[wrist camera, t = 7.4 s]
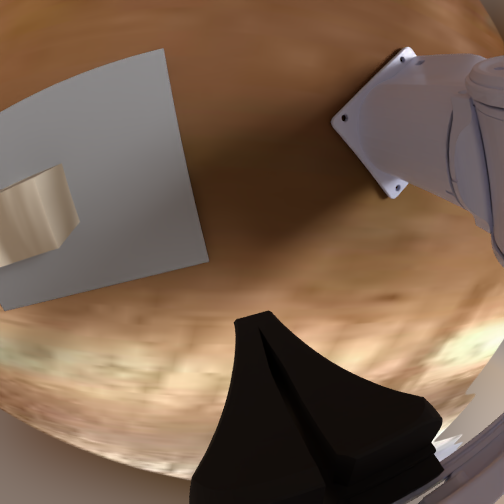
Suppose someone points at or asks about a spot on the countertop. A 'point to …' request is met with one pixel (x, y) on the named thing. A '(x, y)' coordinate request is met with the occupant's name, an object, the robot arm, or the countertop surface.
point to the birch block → (35, 215)
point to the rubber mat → (104, 180)
